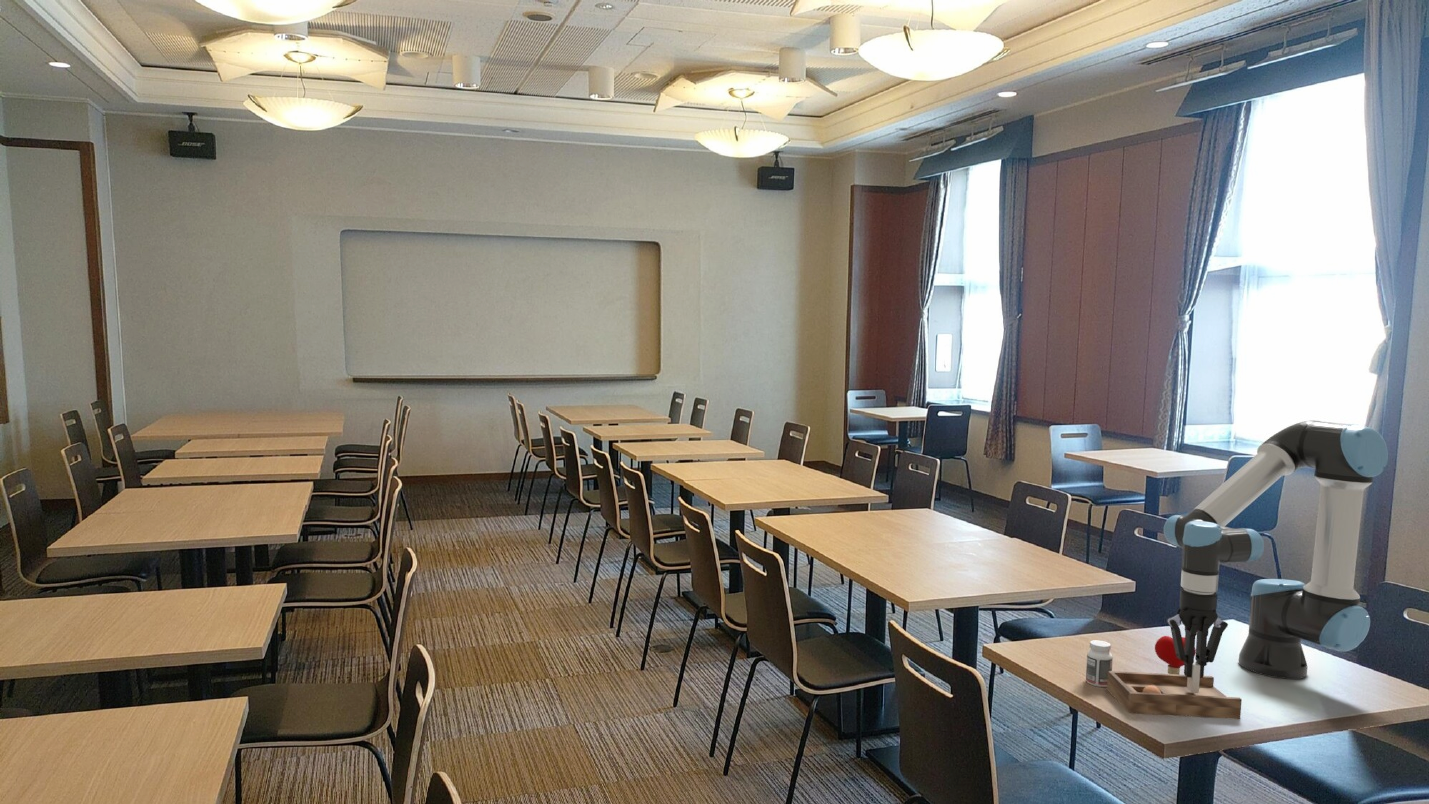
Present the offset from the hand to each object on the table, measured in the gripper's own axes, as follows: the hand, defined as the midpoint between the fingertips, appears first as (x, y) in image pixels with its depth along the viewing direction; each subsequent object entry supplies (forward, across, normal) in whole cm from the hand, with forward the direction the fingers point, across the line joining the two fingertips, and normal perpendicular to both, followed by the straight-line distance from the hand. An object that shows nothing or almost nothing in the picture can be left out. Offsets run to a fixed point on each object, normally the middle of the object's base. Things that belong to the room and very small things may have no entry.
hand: (1192, 690), depth 212 cm
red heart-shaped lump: (+4, -3, -18) cm, 18 cm away
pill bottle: (+3, +18, -10) cm, 21 cm away
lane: (+3, +5, 0) cm, 6 cm away
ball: (+3, +10, +1) cm, 10 cm away
